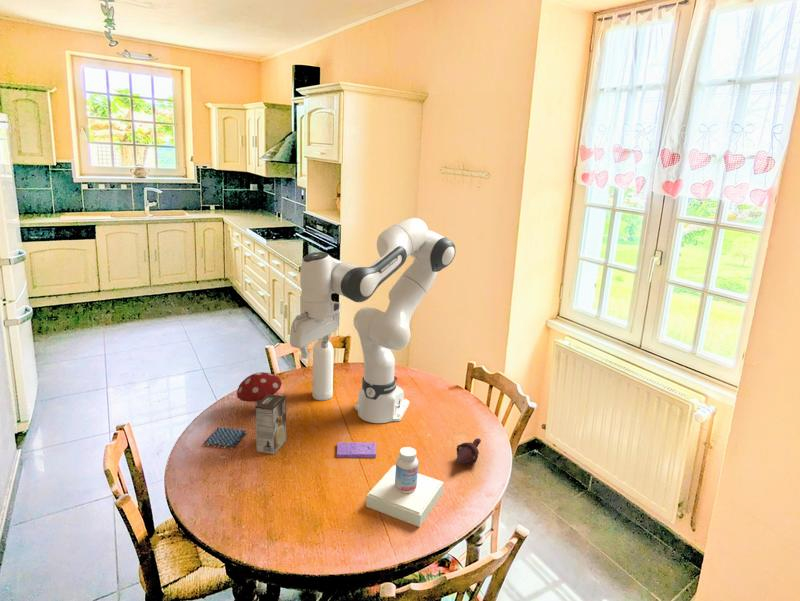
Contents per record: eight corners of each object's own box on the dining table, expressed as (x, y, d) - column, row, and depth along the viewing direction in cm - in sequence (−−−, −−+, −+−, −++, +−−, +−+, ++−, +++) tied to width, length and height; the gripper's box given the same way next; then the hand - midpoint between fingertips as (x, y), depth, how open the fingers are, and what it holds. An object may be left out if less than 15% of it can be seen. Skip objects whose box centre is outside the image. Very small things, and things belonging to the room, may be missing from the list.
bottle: (307, 396, 198) (308, 323, 189) (322, 389, 204) (322, 318, 196) (323, 402, 193) (323, 328, 185) (337, 395, 200) (338, 323, 191)
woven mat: (217, 430, 172) (217, 425, 171) (247, 434, 171) (247, 429, 170) (202, 447, 162) (201, 442, 161) (233, 451, 161) (233, 446, 160)
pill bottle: (403, 496, 137) (405, 460, 134) (390, 484, 142) (392, 449, 138) (421, 489, 140) (423, 453, 137) (407, 477, 145) (410, 442, 142)
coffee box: (268, 436, 169) (267, 392, 164) (286, 439, 168) (286, 395, 163) (255, 451, 160) (254, 405, 156) (274, 455, 159) (273, 409, 155)
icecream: (470, 460, 151) (491, 443, 163) (450, 446, 154) (471, 430, 166) (462, 478, 153) (483, 460, 165) (442, 464, 156) (464, 447, 169)
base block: (393, 475, 152) (393, 463, 151) (442, 492, 146) (443, 480, 144) (366, 506, 138) (366, 493, 137) (419, 527, 132) (420, 514, 131)
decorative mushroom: (271, 425, 176) (270, 386, 172) (228, 419, 178) (226, 380, 174) (289, 404, 191) (288, 367, 187) (249, 398, 193) (248, 362, 189)
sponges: (376, 459, 161) (376, 454, 160) (335, 458, 160) (336, 453, 159) (375, 447, 167) (375, 442, 167) (337, 446, 167) (337, 441, 166)
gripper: (302, 319, 138) (302, 366, 142) (343, 302, 156) (342, 344, 160) (284, 315, 141) (284, 361, 144) (326, 298, 158) (325, 340, 162)
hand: (315, 352), depth 152 cm, fingers open, 8 cm apart
